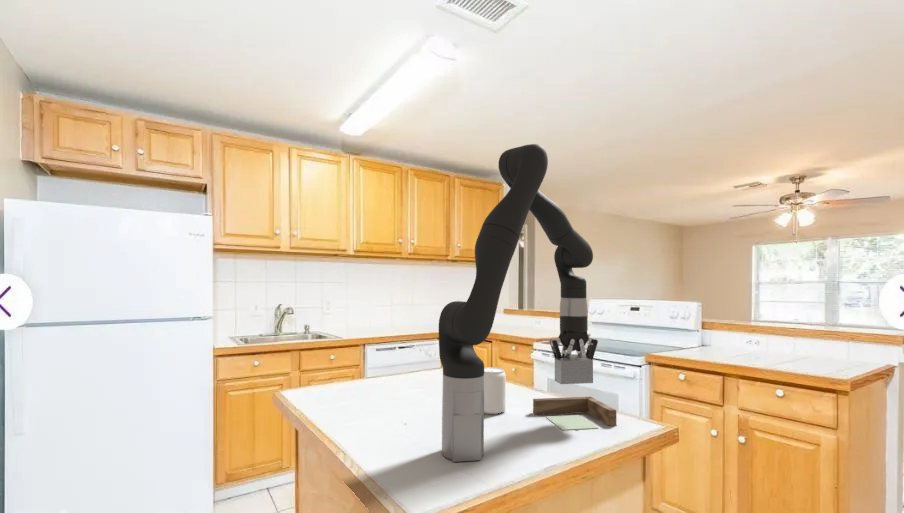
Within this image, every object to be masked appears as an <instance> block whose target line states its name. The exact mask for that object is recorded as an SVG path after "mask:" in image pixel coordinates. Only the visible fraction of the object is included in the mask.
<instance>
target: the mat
mask: <svg viewBox="0 0 904 513" xmlns="http://www.w3.org/2000/svg"><path fill="white" fill-rule="evenodd" d="M545 419H547V420H549V421H550V422H551V423H552V424H554V425H555V426H556V427H558V428H559V429H560V430H562V431H574V430H576V431H577V430H593V429H595V430H596V429H597V430H599V426H598V425H596V424H594V423H592V422H591V421H589V420H587V419H586V418H585V417H582V416H581V415H579V414H575V415H574V414H572V415H570V414H569V415H553V416H550V415H549V416H548V415H547V416H545Z"/></svg>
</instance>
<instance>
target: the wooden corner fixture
mask: <svg viewBox="0 0 904 513" xmlns="http://www.w3.org/2000/svg"><path fill="white" fill-rule="evenodd" d="M532 401H533V402H532V413H533V414H534V415H535V416H539V415H540V414H545V415H562V414H563V415H565V414H566V415H567V414H584V413H587V414H589V415H591V416H593V417H594V418H596V419H597V420H599V421H601V422H602V423H604V424H606V425H608V426H609V427H612V426H614V427H615V426H617V409H615V408H613V407H611V406H609V405H608V404H605V403H603V402H602V401H600V400H598V399H596V398H594V397H593V396H573V397H545V398H533V399H532ZM540 416H541V415H540Z"/></svg>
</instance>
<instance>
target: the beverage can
mask: <svg viewBox="0 0 904 513" xmlns="http://www.w3.org/2000/svg"><path fill="white" fill-rule="evenodd" d="M506 375H507V374H506V372H505V370H504V369H503V368H500V367H496V366H495V367H491V366H487V367H485V366H484V414H487V415H498V413H499V414H502V413H504V412H505V411H506V402H507V400H506V396H507V395H506V392H507V391H506V390H507V389H506V388H507V387H506V383H507V381H506V380H507V379H506V377H507V376H506ZM501 412H502V413H501Z"/></svg>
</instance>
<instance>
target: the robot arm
mask: <svg viewBox="0 0 904 513" xmlns="http://www.w3.org/2000/svg"><path fill="white" fill-rule="evenodd" d="M548 163H549V159H548V154H547V152H546V149H545V147H544V146H542V145H540V144H538V143H532V144H524V145H521V146H516V147H513V148H509V149H506V150H505V151H503V152H502V153H501V155H500V156H499V159H498V171H499V173H500V176H501V178H502V179H503V180H504V182H505V183H506V185H507V186H508V187H509V190H508V192H507V193H506V194H505V195H504V196H503V198H502V199H501V200H500V201H499V202H498V203H497V204H496V205H495V206H494V208H493V209H492V210H491V211H490V212H489V213H488V214H487V216H486V218H485V219H484V221H483V222H482V226H481V228H480V231H479V232H478V235H477V238H476V240H475V245H474V262H475V263H474V264H475V279H474V282H473V285H472V287H471V288H472V289H471V292H470V294H469V297H468V298H467V300H466V301H461V300H460V301H459V300H456V301H451V302H448V304H446V305H445V306H444V307H443V308H442V310H441V312H440V314H439V320H438V350H439V351H438V353H439V354H438V355H439V359H440V363H441V366H442V399H441V400H442V401H441V402H442V403H441V405H442V408H441V413H442V414H441V415H442V416H441V454H442V456H443V457H444V458H447V459H449V460H451V461H452V462H453V463H457V462H458V463H459V462H472V461H481V460H482V457H483V456H484V444H485V442H484V441H485V435H484V434H485V433H484V432H485V428H484V427H485V424H484V423H485V413H484V368H485V364H484V361H483V360H482V359H481V358H480V356H478V354H477V353H476V351H475V349H474V348H475V347H474V346H477V345H481V344H482V343H484V342H485V340H487V338H488V337H489V335H490V333H491V332H492V331H491V330H492V328H493V325H494V322H495V316H496V313H497V309H498V303H499V301H500V300H499V299H500V296H501V292H502V289H503V286H504V282H505V280H506V277H507V274H508V271H509V267H510V263H511V262H512V259H513V257H514V254H515V252H516V250H517V245H518V244H519V240H520V237H521V233H522V229H523V227H524V225H525V223H526V221H527V220H526V219H527V217H528V214H529V212H530V213H531V214H532V215H533V216H534V218H535V219H536V220H537V223H539V225H540V227H541V228H542V230H543V231H544V234H545V235H546V236H547V239H548V240H549V242H550V243H551V244H552V245H554V246H556V249H555V251H554V255H553V256H554V258H553V259H554V264H555V267H556V271H557V275H558V278H559V283H560V301H559V335H558V337H557V338H554V339H552V338H550V339H549V344H550V348H551V352H552V355H553V357H554V359H555V358H569V357H570V355H572V352H574V351H576V354H577V355H580V356H583V357H586V358H589V359H591V360H593V359H594V356H595V353H596V350H597V347H598V343H599V341H598V339H596V338H591V337H590V336H589V334H588V330H589V329H588V326H589V325H588V321H589V320H588V318H589V316H588V314H589V311H588V300H587V280H586V279H585V277H583V276H577V275H576V274H575V273H574V270H573V269H583V268H587V267H590V265H591V264H592V262H593V259H594V254H593V253H594V251H593V249H592V247H591V245H590V244H589V242H588V241H587V240H586V239H585V238H584V237H583V236H582V235H581V234H580V233H578V231H577V230H575V229H574V228H573V226H572V224H571V223H570V221H569V219H568V217H567V215H566V214H565V212H564V210H562V208H561V207H560V206H559V205H558V204H557V203H556V202H554V201H553V200H552V199H550V198H549V197H548V196H546V195H545V194H544V193H543V192H541V191H540V187H541V185H542V183H543V181H544V179H545V177H546V173H547V170H548ZM560 344H561V345H562V349H561V350H560ZM586 345H587V347H586V348H587V349H586V348H585V346H586ZM593 361H594V360H593Z"/></svg>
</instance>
